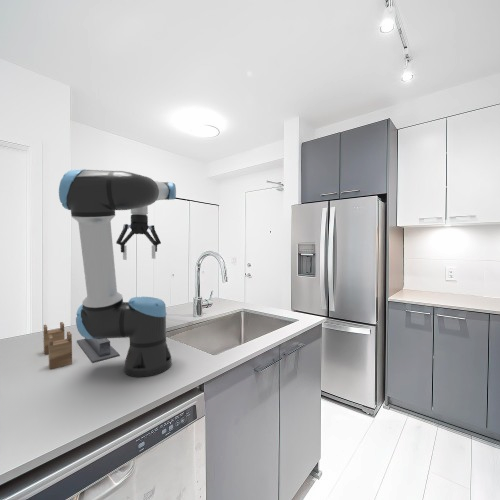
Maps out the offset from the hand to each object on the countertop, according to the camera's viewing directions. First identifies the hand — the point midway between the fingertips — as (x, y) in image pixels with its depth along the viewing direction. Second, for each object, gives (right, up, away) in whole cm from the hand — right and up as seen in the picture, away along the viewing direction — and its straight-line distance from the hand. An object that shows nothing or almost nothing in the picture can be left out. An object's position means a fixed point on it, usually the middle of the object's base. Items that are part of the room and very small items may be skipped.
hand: (139, 259), depth 129 cm
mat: (-9, -35, -21) cm, 42 cm away
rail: (-9, -35, -21) cm, 41 cm away
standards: (-18, -35, -30) cm, 50 cm away
